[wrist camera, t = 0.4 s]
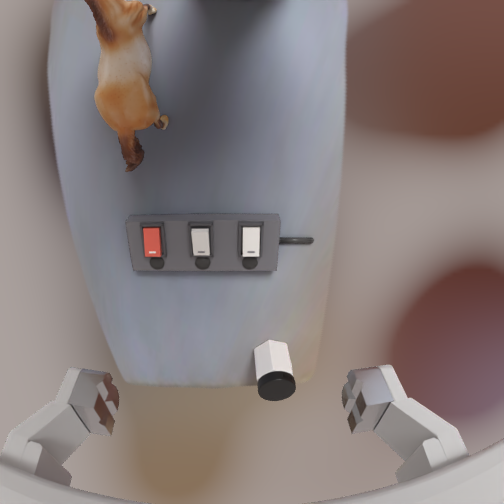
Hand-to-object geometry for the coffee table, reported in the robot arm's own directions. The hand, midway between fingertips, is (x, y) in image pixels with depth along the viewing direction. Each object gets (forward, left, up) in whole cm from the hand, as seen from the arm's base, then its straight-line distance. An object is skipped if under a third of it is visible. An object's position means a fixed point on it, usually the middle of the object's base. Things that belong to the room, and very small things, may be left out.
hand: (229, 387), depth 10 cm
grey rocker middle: (+16, -5, -42) cm, 45 cm away
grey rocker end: (+16, +3, -42) cm, 45 cm away
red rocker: (+16, -14, -42) cm, 47 cm away
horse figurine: (-13, -17, -46) cm, 51 cm away
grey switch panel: (+17, -1, -46) cm, 49 cm away
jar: (+47, +9, -46) cm, 67 cm away
